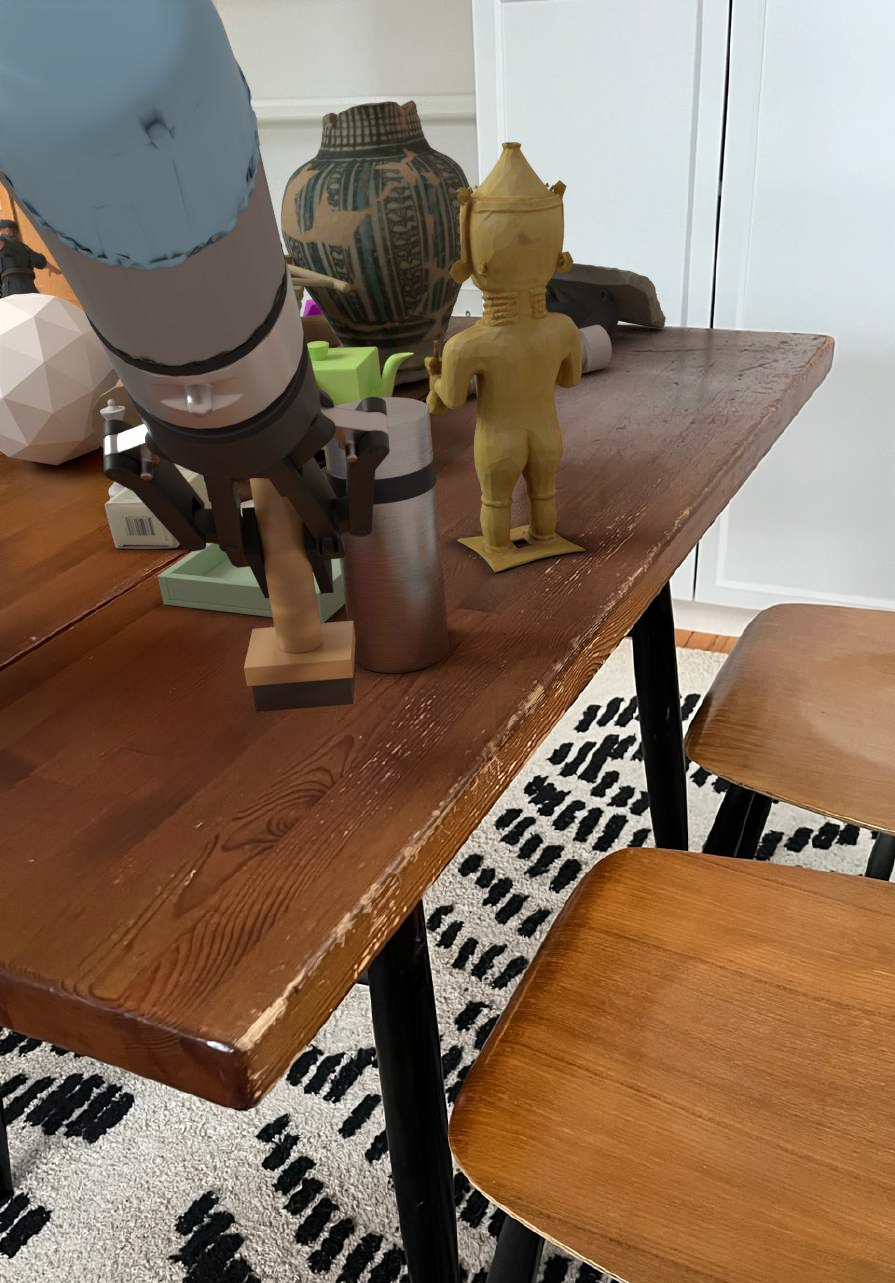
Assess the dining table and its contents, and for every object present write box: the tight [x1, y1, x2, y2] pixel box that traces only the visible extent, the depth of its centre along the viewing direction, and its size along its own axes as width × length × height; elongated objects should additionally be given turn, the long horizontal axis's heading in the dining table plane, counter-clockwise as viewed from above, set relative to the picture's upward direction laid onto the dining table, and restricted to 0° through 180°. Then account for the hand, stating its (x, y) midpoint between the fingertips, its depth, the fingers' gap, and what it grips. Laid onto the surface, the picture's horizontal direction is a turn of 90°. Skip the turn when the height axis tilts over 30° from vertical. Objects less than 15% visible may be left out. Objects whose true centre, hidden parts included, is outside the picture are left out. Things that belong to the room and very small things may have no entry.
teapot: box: [307, 341, 414, 451], centre depth 125 cm, size 15×13×11 cm
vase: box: [280, 99, 471, 387], centre depth 140 cm, size 22×22×30 cm
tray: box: [157, 543, 345, 623], centre depth 98 cm, size 15×13×2 cm
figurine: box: [425, 141, 586, 573], centre depth 94 cm, size 12×10×30 cm
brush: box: [243, 478, 357, 713], centre depth 67 cm, size 6×5×15 cm
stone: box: [545, 262, 667, 329], centre depth 158 cm, size 20×4×15 cm
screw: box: [467, 325, 613, 396], centre depth 141 cm, size 5×22×5 cm
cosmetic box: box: [104, 464, 212, 550], centre depth 111 cm, size 6×4×12 cm
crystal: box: [302, 298, 323, 317], centre depth 172 cm, size 5×5×5 cm
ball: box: [0, 218, 120, 466], centre depth 127 cm, size 17×25×24 cm
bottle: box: [323, 396, 450, 674], centre depth 82 cm, size 7×7×17 cm
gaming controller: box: [545, 285, 620, 339], centre depth 155 cm, size 17×6×10 cm
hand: (297, 573), depth 71 cm, fingers closed on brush, 3 cm apart
